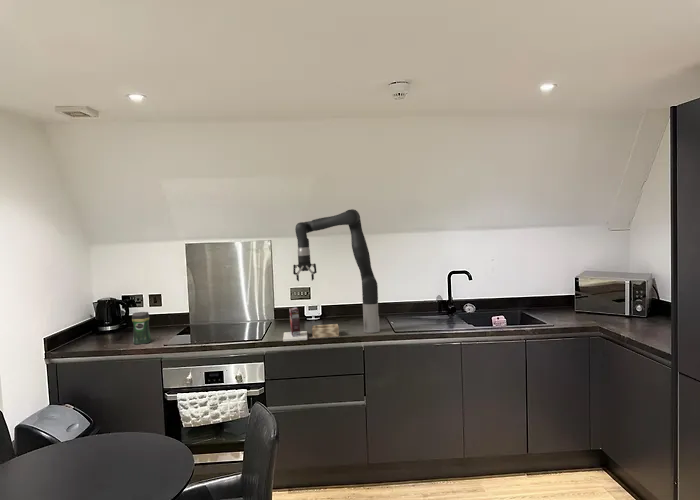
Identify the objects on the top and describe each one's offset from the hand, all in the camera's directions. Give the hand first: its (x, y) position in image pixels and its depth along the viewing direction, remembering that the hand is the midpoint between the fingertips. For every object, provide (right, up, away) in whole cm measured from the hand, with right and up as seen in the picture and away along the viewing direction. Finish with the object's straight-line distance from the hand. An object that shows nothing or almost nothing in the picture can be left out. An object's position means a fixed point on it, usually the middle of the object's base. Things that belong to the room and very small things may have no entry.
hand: (305, 280), depth 327 cm
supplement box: (-5, -32, -12) cm, 34 cm away
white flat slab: (-5, -33, -12) cm, 35 cm away
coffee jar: (-96, -37, -11) cm, 104 cm away
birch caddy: (+13, -32, -10) cm, 36 cm away
